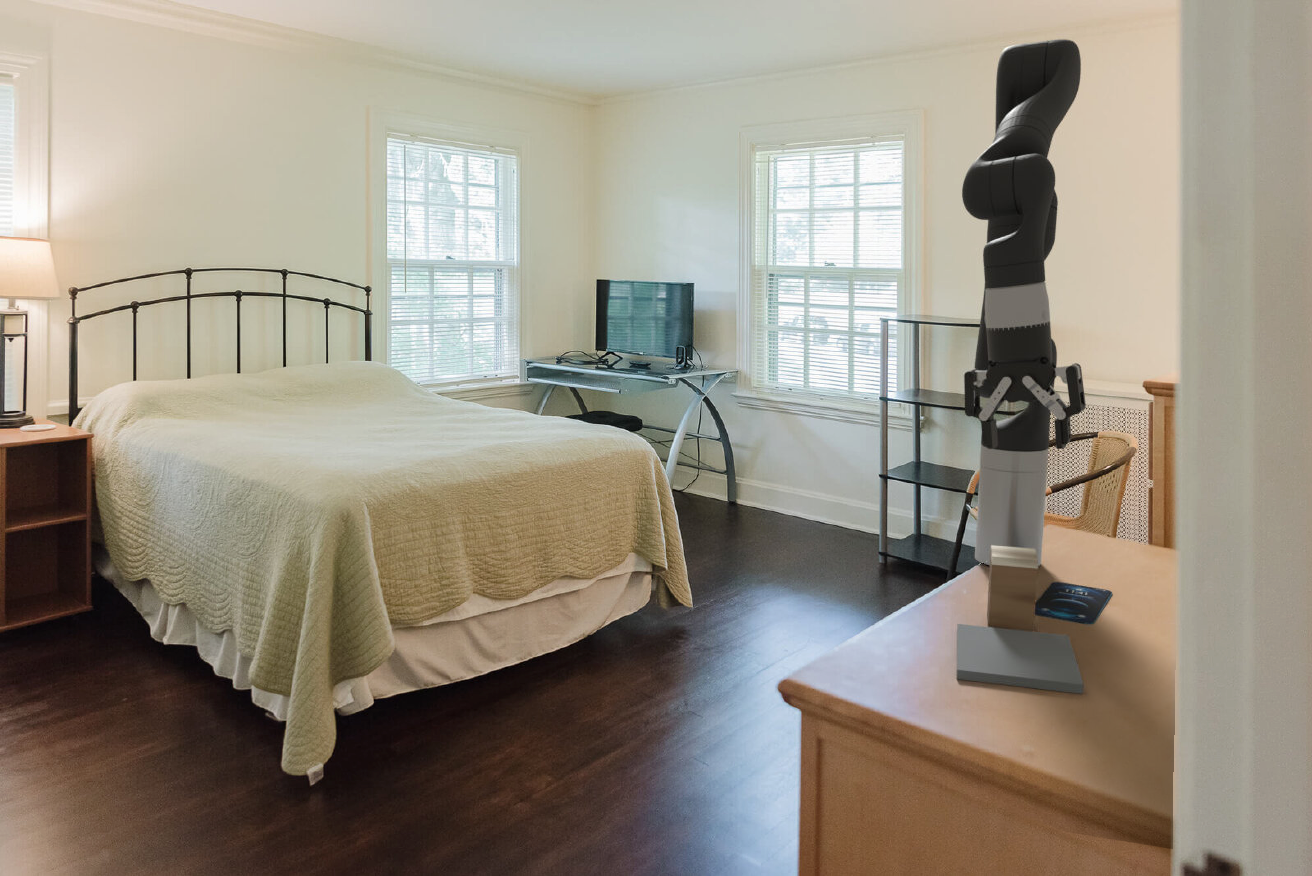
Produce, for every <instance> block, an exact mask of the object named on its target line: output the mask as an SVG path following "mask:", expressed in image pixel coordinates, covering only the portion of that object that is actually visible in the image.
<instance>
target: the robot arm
mask: <svg viewBox="0 0 1312 876" xmlns="http://www.w3.org/2000/svg"><path fill="white" fill-rule="evenodd" d="M1081 62H1082V58H1081V54H1080V49H1079V46H1078V44H1077V43H1076V42H1075V41H1073V40H1070V39H1064V38H1063V39H1061V38H1060V39H1059V38H1058V39H1050V40H1042V41H1041V40H1040V41H1035V42H1029V43H1028V42H1026V43H1020V44H1013V45H1009V46H1007V47H1005V48H1004V49H1003V50H1002V52H1001V54H1000V56H999V59H998V62H997V68H996V69H997V70H996V76H995V77H996V78H995V87H996V88H995V123H994V124H995V132H994V133H995V135H994V139H993V140H992V143H991V144H990V145H989V146H988V147H987V148H986V149H985V150H984V151H983V152H982V153H981V154H980V155H979V156H978V157H977V158H976V159H975V160H974V161H973V163H972V164H971V165H970V167H969V168H968V171H966V174H965V176H964V179H963V183H962V190H961V195H962V196H961V197H962V203H963V205H964V208H965V210H966V211H967V212H968V213H969V214H970V216H971V217H974V219H975V218H976V219H978V220H981V221H982V220H983V221H987V230H986V245H985V244H984V247H983V251H982V254H983V255H982V257H983V258H982V260H983V261H982V262H983V274H984V275H983V276H984V289H983V298H982V299H983V300H982V305H981V307H982V308H981V313H980V314H981V315H980V321H979V329H978V335H977V342H976V349H975V350H976V351H975V359H974V367H973V368H972V369H970V370H968V371H966V372H965V373H964V375H963V377H964V378H963V381H964V382H963V383H964V386H963V388H964V415H966V416H967V417H973V418H976V419H978V420H979V422H980V425H981V438H980V439H981V440H980V453H979V454H980V455H979V456H980V458H979V474H978V476H979V477H978V492H977V494H978V495H977V513H976V528H975V529H976V530H975V542H974V543H975V545H974V560H976V561H978V562H979V563H982V564H983V563H984V564H983V565H987V566H990V556H991V545H994V546H1006V547H1019V548H1032V549H1035V550H1036V554H1037V557H1038V567H1039V566H1041V564H1042V553H1043V551H1042V550H1043V538H1044V527H1045V526H1044V524H1045V509H1046V497H1047V496H1046V495H1047V494H1046V493H1047V479H1048V464H1049V463H1048V462H1049V448H1050V430H1051V429H1050V428H1051V426H1050V425H1051V414H1052V415H1053V416H1054V417H1055V418H1056V419H1054V434H1055V435H1054V438H1055V447H1056V449H1057V450H1064V449H1065V448H1066V447H1067V445H1068V444H1069V443H1070V442H1071V439H1072V431H1071V430H1072V428H1071V417H1072V416H1076V415H1079V414H1080V413H1081V412H1083V411H1084V410H1085V409H1086V408H1087V407H1086V406H1087V405H1086V398H1085V397H1086V396H1085V391H1084V389H1085V387H1084V381H1083V373H1082V367H1081V365H1080V364H1079V363H1072V364H1071V365H1067V366H1066V365H1065V366H1057V362H1058V352H1057V345H1056V342H1055V341H1054V339H1053V338H1052V332H1051V331H1052V330H1051V312H1050V301H1049V295H1048V294H1049V293H1048V291H1047V283H1046V270H1045V262H1046V260H1047V258H1048V256H1049V255H1050V253H1051V252H1052V249H1053V247H1054V245H1055V241H1056V232H1057V231H1056V230H1057V216H1058V203H1059V201H1058V194H1057V192H1056V189H1055V188H1056V187H1055V186H1056V172H1055V169H1054V167H1053V164H1052V163H1051V162H1050V160H1049V159H1048V155H1049V152H1050V148H1051V145H1052V142H1053V138H1054V135H1055V133H1056V130H1057V129H1058V127H1059V126H1060V124H1061V123H1062V121H1063V120H1064V118H1065V116H1066V115H1067V114H1068V112H1069V110H1070V109H1071V107H1072V106H1073V103H1074V102H1075V100H1076V97H1077V95H1078V92H1079V89H1080V82H1081V74H1082V73H1081V72H1082V71H1081V70H1082V69H1081V68H1082V67H1081V66H1082V63H1081ZM1057 377H1059V378H1060V380H1061V382H1062V383H1063V384H1065V385H1066V386H1067V392H1068V400H1069V404H1068V405H1067V404H1066V403H1065V402H1064V401H1063V400H1062V398H1061V396H1060V394H1059V393H1058V392H1057V391H1056V390H1055V389H1054V388H1055V382H1056V381H1055V380H1056V378H1057ZM981 398H984V399H988V400H987V401H986V404H985V405H984V407H983V406H981ZM1005 401H1006V402H1007V403H1009V404H1010V403H1011V404H1013V403H1017V402H1026V403H1028V404H1027V406H1026V408H1025V409H1024V410H1022V411H1020V412H1019V413H1017V414H1016V415H1013V416H1010V417H1008V418H1005V419H1001V420H997V418H994V415H996V412H997V411H998V410H999V408H1000V407H1001V406H1002V405H1003V404H1004V402H1005ZM986 561H987V562H986Z"/></svg>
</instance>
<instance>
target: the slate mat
mask: <svg viewBox="0 0 1312 876" xmlns="http://www.w3.org/2000/svg"><path fill="white" fill-rule="evenodd" d="M1076 659H1077V658H1076V656H1075V652H1074V650H1073V646H1072V643H1071V639H1070V635H1068V634H1061V633H1060V634H1059V633H1049V632H1040V631H1034V632H1032V631H1022V630H1012V629H1003V628H993V627H988V626H984V625H983V626H981V625H973V624H962V623H957V629H956V680H965V681H972V682H979V683H981V682H982V683H989V684H997V685H1005V686H1014V687H1020V688H1021V687H1022V688H1029V689H1030V688H1031V689H1038V690H1046V691H1054V692H1055V691H1056V692H1063V693H1072V694H1080V695H1084V682H1083V678H1082V675H1081V670H1080V668H1079V665H1078V661H1077V660H1076Z"/></svg>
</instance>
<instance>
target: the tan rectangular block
mask: <svg viewBox="0 0 1312 876" xmlns="http://www.w3.org/2000/svg"><path fill="white" fill-rule="evenodd" d="M1038 573H1039V566H1038V557H1037V554H1036V550H1035V549H1032V548H1019V547H1006V546H994V545H991V556H990V565H989V575H988V591H987V594H988V595H987V609H986V611H987V612H986V620H987V621H986V622H987V627H993V628H1003V629H1012V630H1022V631H1032V632H1035V630H1034V628H1035V619H1036V618H1035V616H1036V615H1035V603H1036V601H1037V600H1036V599H1037V585H1038Z"/></svg>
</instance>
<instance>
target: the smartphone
mask: <svg viewBox="0 0 1312 876" xmlns="http://www.w3.org/2000/svg"><path fill="white" fill-rule="evenodd" d="M1112 595H1113V591H1111V590H1108V589H1105V588H1099V587H1091V586H1087V585H1086V586H1085V585H1080V584H1073V583H1068V582H1061V581H1053V582H1051V583H1050V584H1049V586H1047V588H1046V589H1045V590H1044V591H1043V592H1042V594H1041V595H1040V596H1039V597H1038V599H1037V600H1036V603H1035V616H1039V617H1044V618H1049V619H1055V620H1059V621H1064V622H1069V623H1074V624H1075V623H1076V624H1082V625H1089V626H1090V625H1094V624H1095V623H1096V621H1097V620H1098V618H1099V616H1100V615H1101V614H1102V612H1103V610H1104V609H1105V607H1106V605H1107V604H1108V602H1110V600H1111V597H1112Z"/></svg>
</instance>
